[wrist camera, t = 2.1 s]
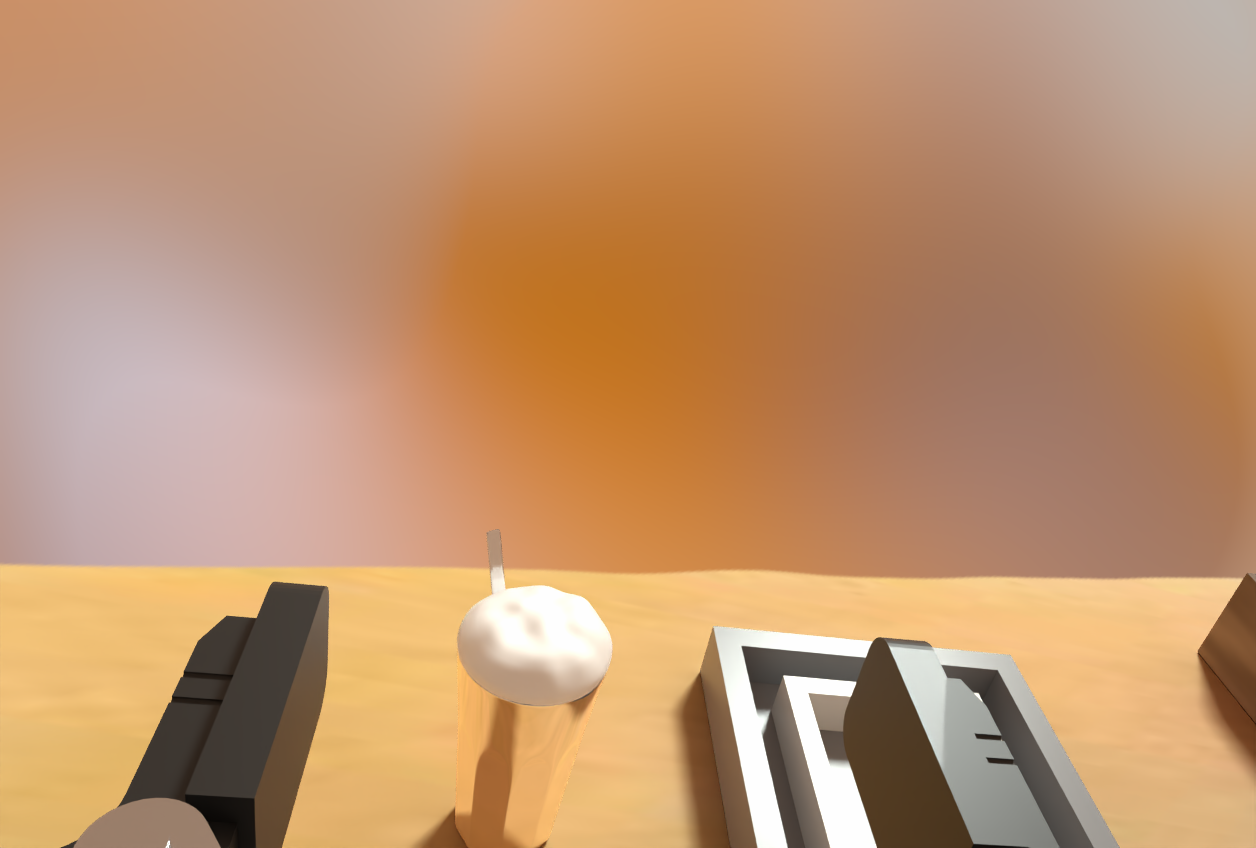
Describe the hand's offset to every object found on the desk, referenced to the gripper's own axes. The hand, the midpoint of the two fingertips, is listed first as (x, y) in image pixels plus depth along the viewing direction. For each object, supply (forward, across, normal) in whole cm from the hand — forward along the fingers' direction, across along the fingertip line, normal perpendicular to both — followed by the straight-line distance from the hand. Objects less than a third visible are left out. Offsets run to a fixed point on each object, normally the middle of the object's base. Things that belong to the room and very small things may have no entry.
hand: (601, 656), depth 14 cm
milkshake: (+11, 0, +18) cm, 21 cm away
